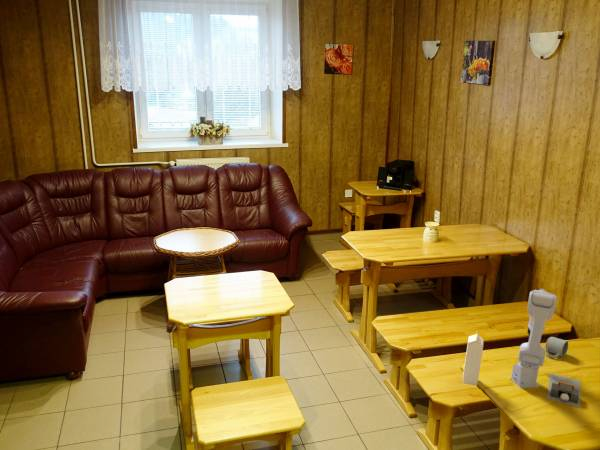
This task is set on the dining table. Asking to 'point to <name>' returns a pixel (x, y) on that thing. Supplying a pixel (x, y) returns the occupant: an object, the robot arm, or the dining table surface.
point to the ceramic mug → (556, 347)
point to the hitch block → (565, 388)
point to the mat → (555, 380)
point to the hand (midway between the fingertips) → (532, 344)
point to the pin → (565, 395)
